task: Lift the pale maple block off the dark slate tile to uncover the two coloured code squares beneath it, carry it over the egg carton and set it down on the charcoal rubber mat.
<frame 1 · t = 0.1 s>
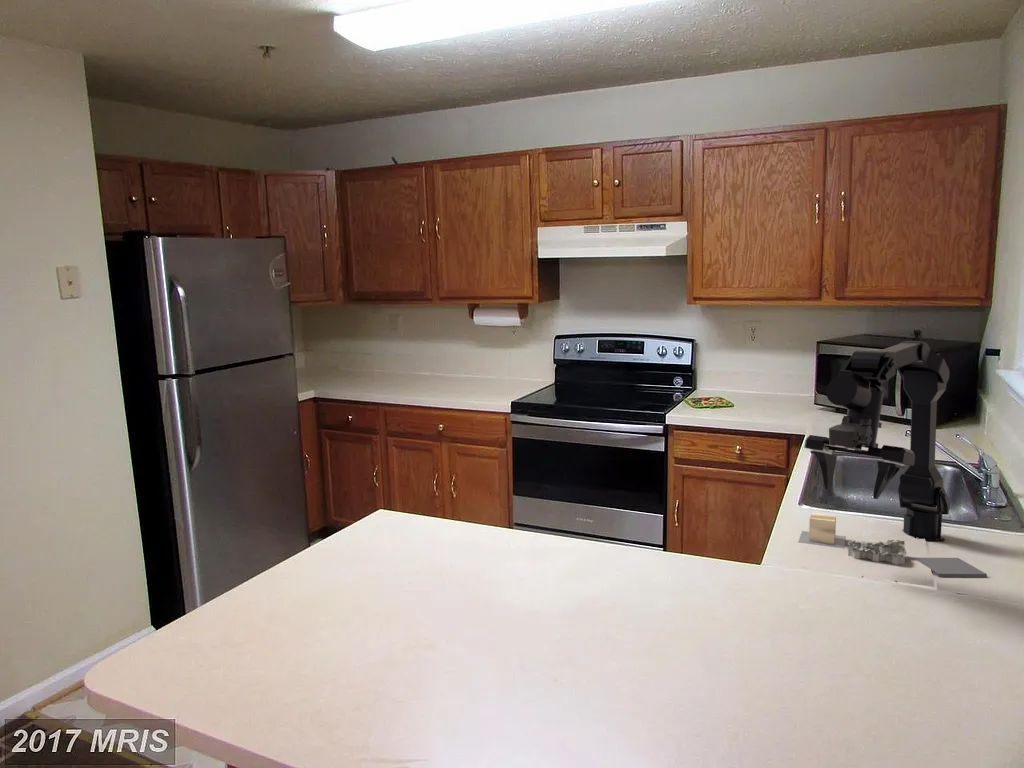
hand: (850, 494, 134), 15 cm above the countertop, tool pointing down, fingers open, 9 cm apart
maple block: (822, 539, 153), point 1 cm above the countertop, touching code tile
charcoal mat: (948, 568, 137), on the countertop
code tile: (822, 541, 153), on the countertop
egg carton: (875, 561, 142), on the countertop
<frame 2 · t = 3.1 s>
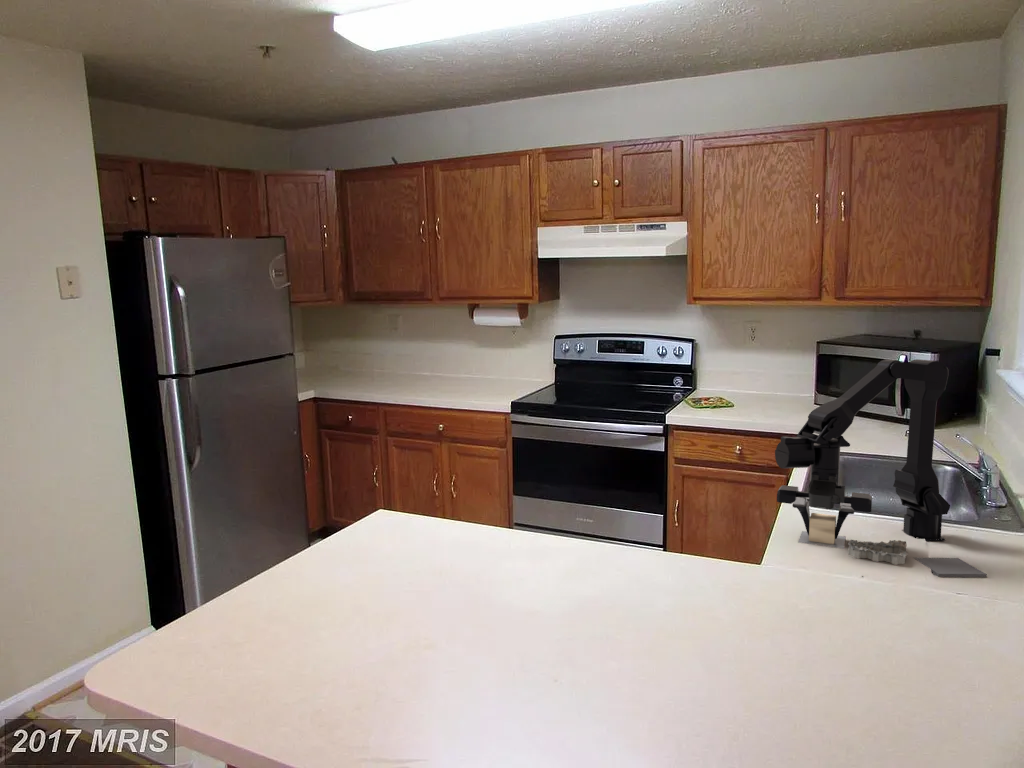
hand: (822, 536, 153), 1 cm above the countertop, tool pointing down, fingers closed on maple block, 5 cm apart
maple block: (822, 539, 153), point 1 cm above the countertop, touching code tile, gripper
everything else where it was.
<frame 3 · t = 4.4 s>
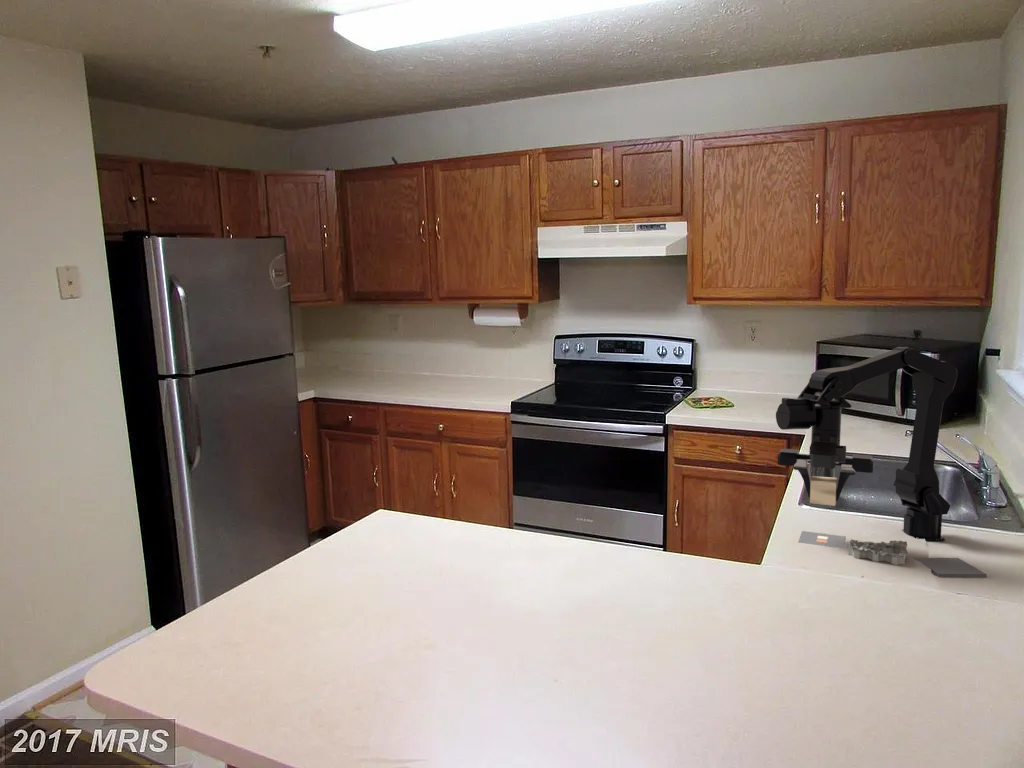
hand: (823, 499, 152), 10 cm above the countertop, tool pointing down, fingers closed on maple block, 5 cm apart
maple block: (823, 501, 153), point 9 cm above the countertop, touching gripper
everything else where it was.
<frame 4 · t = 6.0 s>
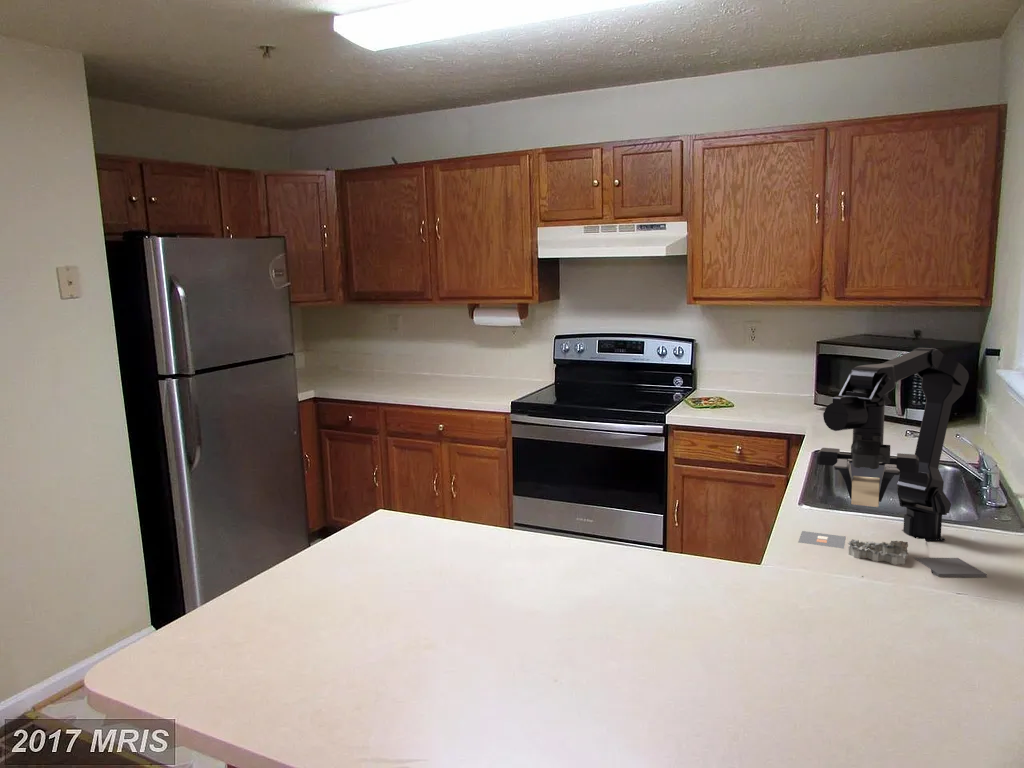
hand: (865, 500, 147), 11 cm above the countertop, tool pointing down, fingers closed on maple block, 5 cm apart
maple block: (865, 502, 147), point 10 cm above the countertop, touching gripper
everything else where it was.
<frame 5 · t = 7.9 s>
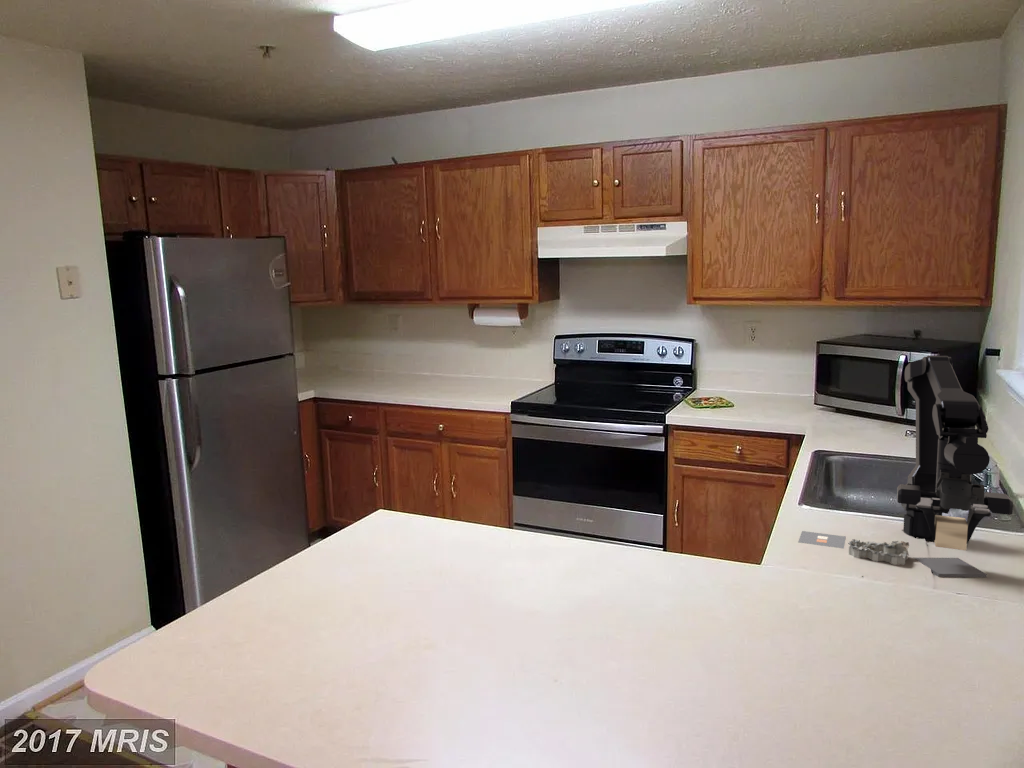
hand: (949, 541, 137), 5 cm above the countertop, tool pointing down, fingers closed on maple block, 5 cm apart
maple block: (949, 544, 136), point 5 cm above the countertop, touching gripper
everything else where it was.
when the fingers open (2 cm above the countertop, at t = 9.3 s): maple block stays where it is, resting on charcoal mat.
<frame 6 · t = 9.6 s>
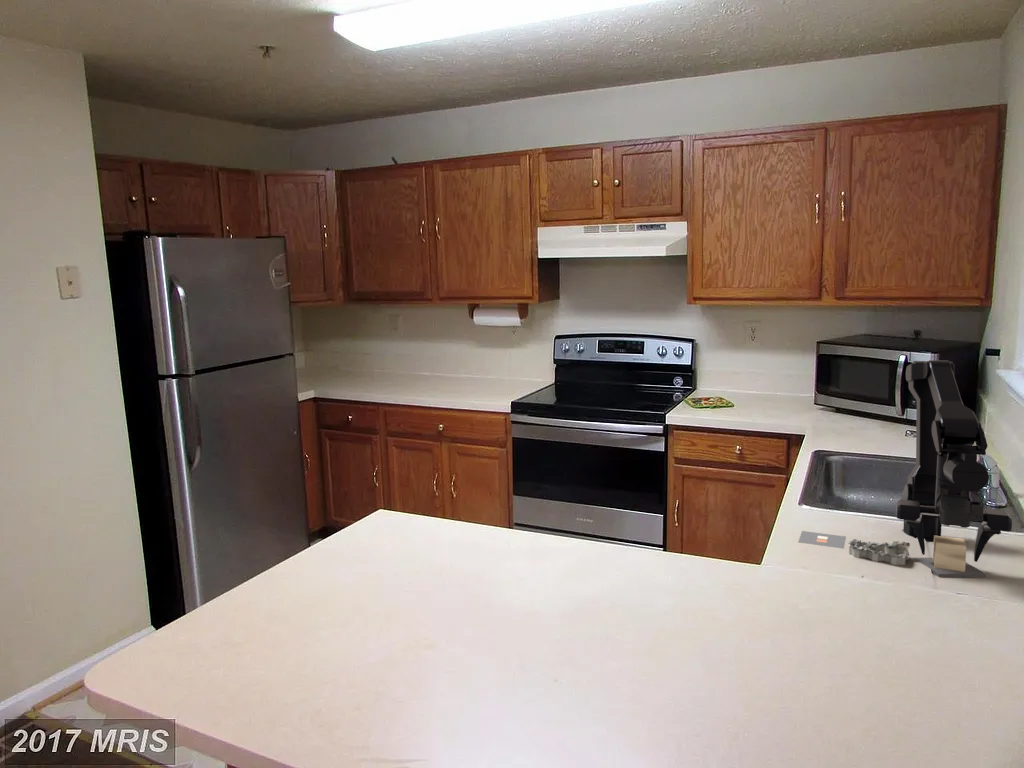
hand: (949, 557, 137), 2 cm above the countertop, tool pointing down, fingers open, 8 cm apart
maple block: (948, 565, 137), point 1 cm above the countertop, touching charcoal mat
everything else where it was.
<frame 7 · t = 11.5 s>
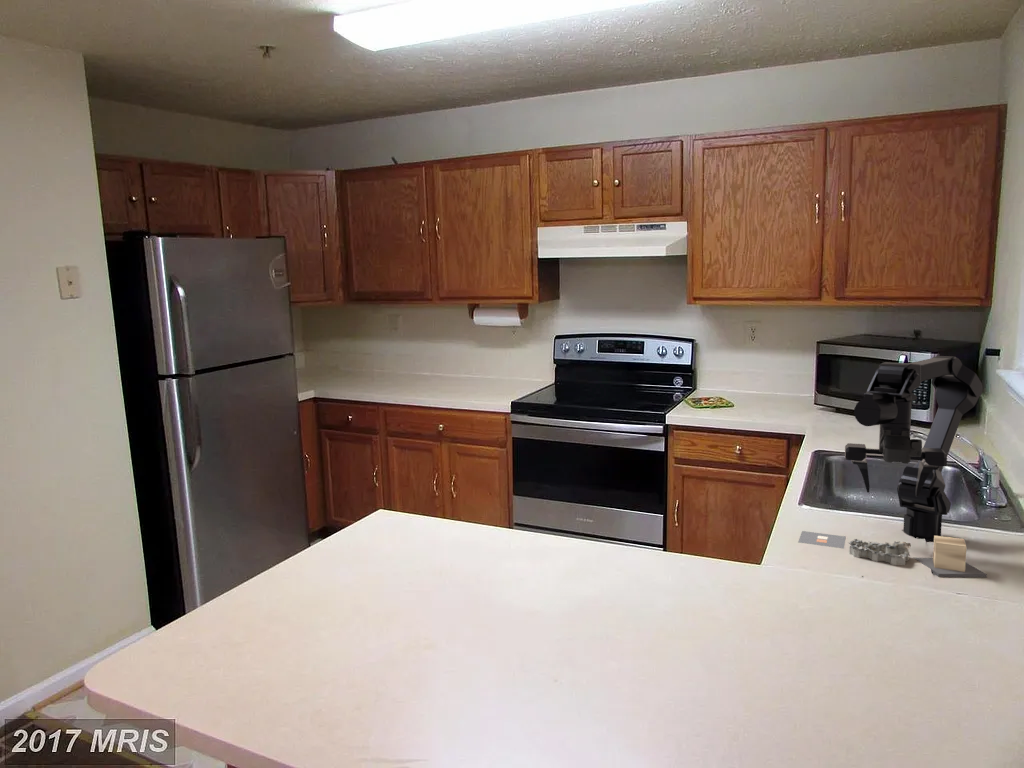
hand: (892, 494, 149), 12 cm above the countertop, tool pointing down, fingers open, 9 cm apart
nothing on the countertop moved.
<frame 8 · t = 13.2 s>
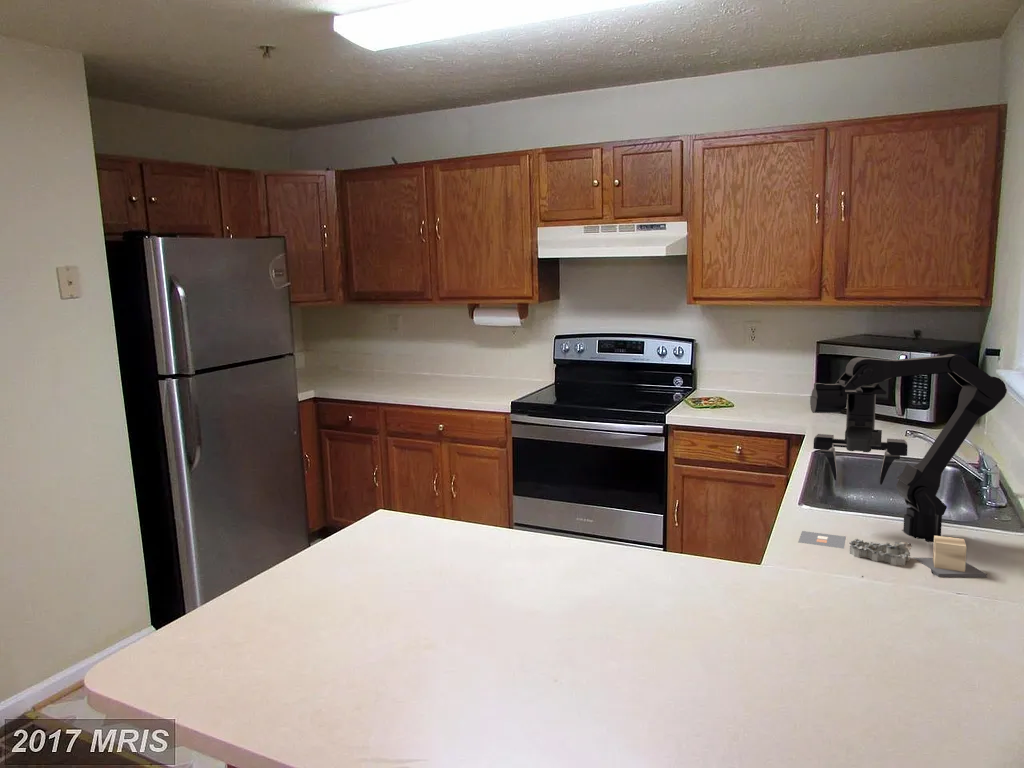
hand: (857, 482, 158), 12 cm above the countertop, tool pointing down, fingers open, 9 cm apart
nothing on the countertop moved.
at the end: maple block 0.1 cm off-centre on the charcoal mat, point 0.6 cm above the charcoal mat's base; maple block tilted 0°; maple block touching charcoal mat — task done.
